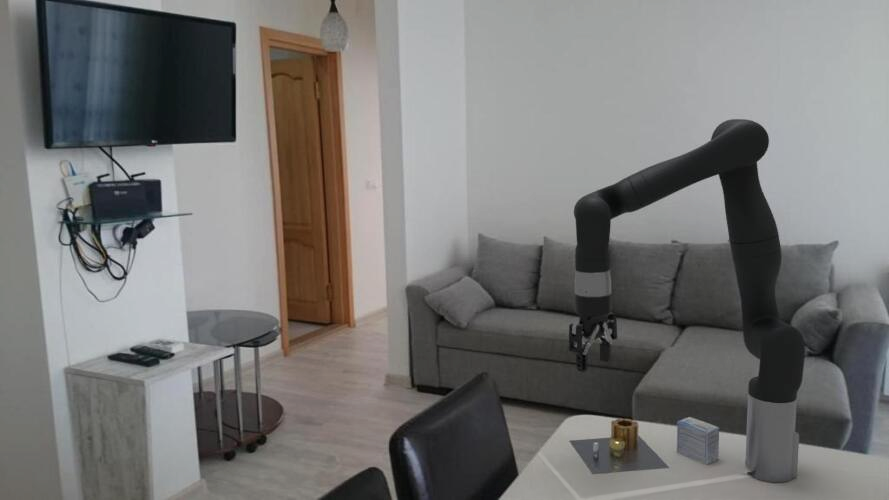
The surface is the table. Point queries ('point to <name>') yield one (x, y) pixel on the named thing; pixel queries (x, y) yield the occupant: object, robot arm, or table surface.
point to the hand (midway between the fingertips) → (593, 365)
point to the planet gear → (625, 432)
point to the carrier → (616, 455)
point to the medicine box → (698, 440)
